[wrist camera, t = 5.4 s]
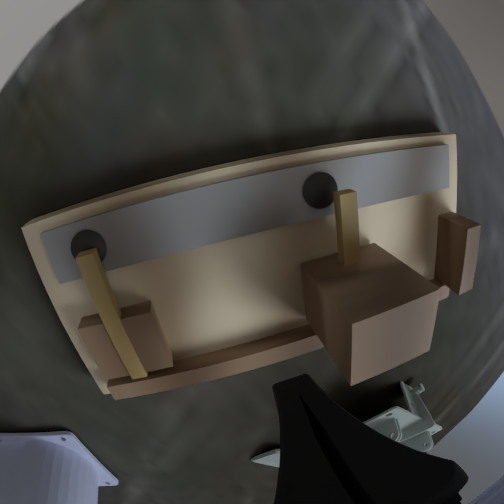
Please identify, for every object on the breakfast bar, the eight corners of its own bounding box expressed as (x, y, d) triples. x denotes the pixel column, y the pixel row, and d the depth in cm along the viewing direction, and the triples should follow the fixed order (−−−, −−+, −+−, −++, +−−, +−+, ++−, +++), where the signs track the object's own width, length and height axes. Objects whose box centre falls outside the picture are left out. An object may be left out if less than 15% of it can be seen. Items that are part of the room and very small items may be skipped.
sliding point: (306, 319, 16) (350, 386, 12) (291, 196, 13) (350, 235, 9) (374, 296, 17) (429, 350, 12) (371, 179, 14) (447, 208, 10)
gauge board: (106, 380, 17) (99, 426, 13) (31, 219, 12) (-4, 247, 9) (437, 282, 20) (471, 307, 16) (441, 131, 15) (487, 139, 12)
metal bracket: (402, 418, 16) (461, 441, 22) (378, 346, 21) (443, 395, 27) (241, 481, 22) (343, 492, 28) (240, 423, 26) (336, 450, 32)
